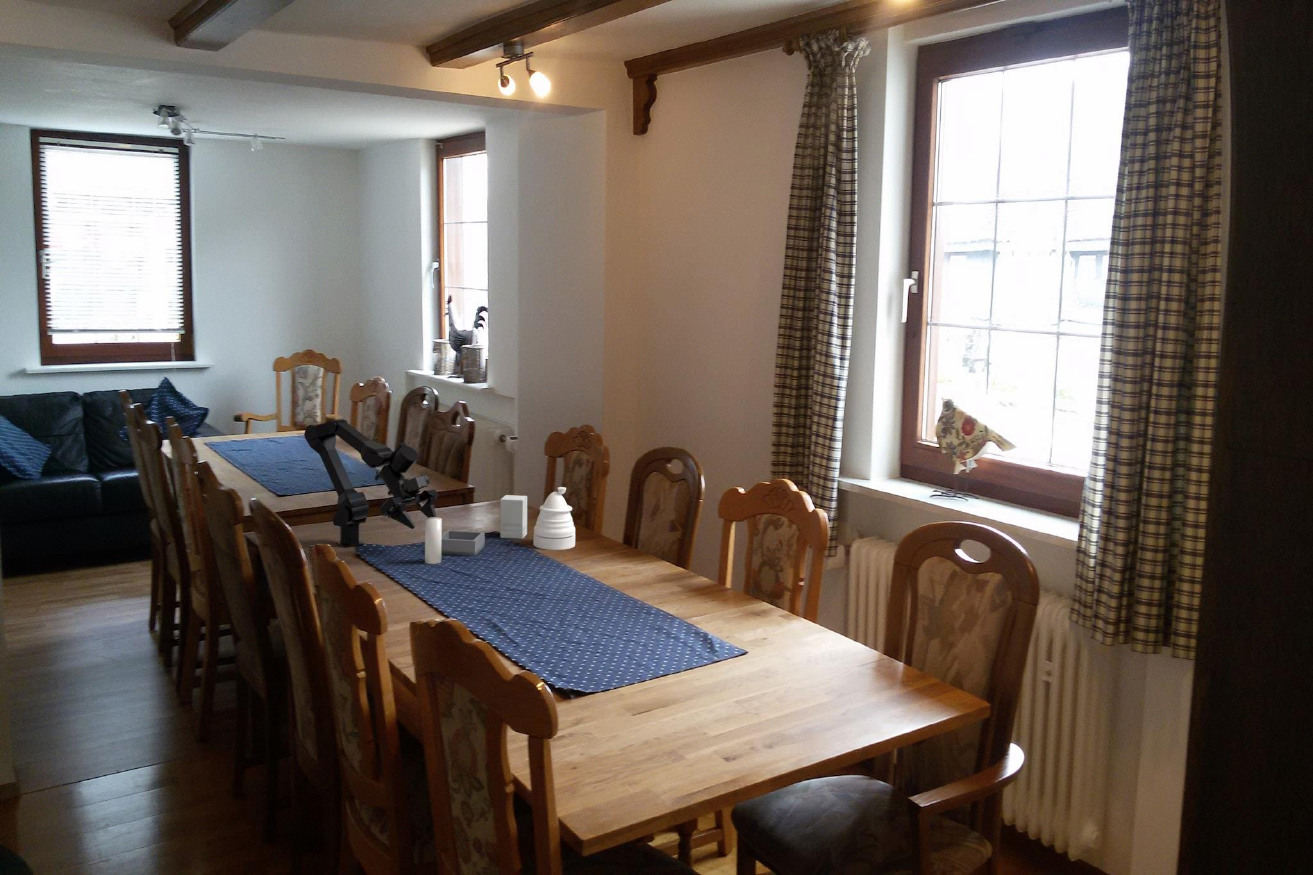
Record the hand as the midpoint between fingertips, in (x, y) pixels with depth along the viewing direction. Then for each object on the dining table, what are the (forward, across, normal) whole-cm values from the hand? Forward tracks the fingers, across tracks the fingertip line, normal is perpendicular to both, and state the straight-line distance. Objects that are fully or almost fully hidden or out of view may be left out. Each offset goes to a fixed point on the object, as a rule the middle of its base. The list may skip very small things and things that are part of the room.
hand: (425, 525), depth 301 cm
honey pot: (+20, +38, -5) cm, 43 cm away
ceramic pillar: (+9, 0, +5) cm, 11 cm away
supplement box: (+8, +39, +7) cm, 41 cm away
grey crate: (+7, +15, +7) cm, 18 cm away
